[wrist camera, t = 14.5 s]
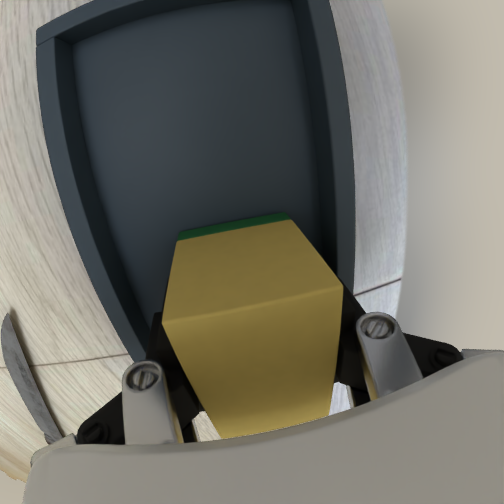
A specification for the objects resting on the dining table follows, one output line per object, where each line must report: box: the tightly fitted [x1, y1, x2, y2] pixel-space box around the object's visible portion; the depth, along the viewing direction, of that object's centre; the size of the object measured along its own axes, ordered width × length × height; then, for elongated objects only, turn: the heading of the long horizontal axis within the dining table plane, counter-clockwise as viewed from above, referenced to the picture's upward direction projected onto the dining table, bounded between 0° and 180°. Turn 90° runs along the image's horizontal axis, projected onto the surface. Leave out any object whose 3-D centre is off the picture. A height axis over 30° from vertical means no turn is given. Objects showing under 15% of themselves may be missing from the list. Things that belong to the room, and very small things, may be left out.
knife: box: [1, 313, 63, 445], centre depth 15 cm, size 28×3×1 cm, turn 163°
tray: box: [36, 0, 355, 363], centre depth 10 cm, size 18×10×2 cm, turn 8°
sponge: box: [162, 212, 343, 439], centre depth 9 cm, size 6×4×5 cm, turn 8°
